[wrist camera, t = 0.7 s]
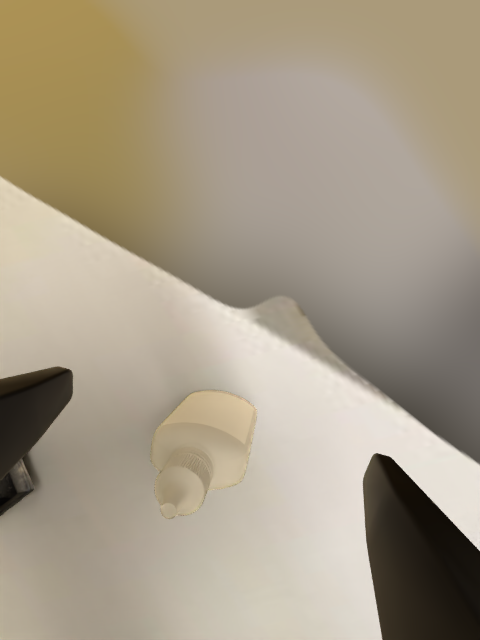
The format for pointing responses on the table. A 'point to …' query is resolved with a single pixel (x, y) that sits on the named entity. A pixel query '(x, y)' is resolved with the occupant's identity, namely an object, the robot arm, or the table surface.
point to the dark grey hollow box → (14, 486)
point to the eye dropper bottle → (201, 449)
